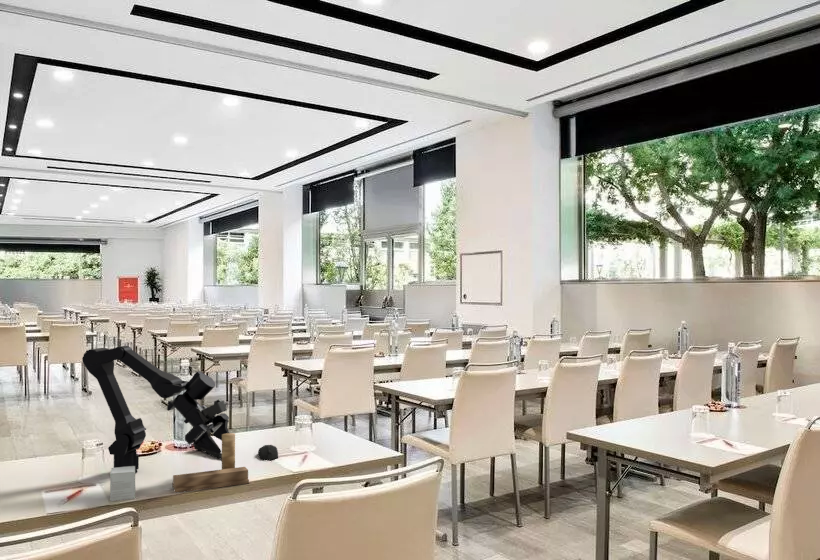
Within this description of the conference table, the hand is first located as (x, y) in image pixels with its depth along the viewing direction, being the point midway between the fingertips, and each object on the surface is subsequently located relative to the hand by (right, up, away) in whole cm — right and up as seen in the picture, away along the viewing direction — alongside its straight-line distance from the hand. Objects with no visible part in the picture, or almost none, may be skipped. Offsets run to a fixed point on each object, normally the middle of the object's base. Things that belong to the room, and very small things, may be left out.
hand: (226, 448), depth 195 cm
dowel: (0, -8, 0) cm, 8 cm away
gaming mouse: (+8, -9, +23) cm, 25 cm away
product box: (-23, -8, -19) cm, 31 cm away
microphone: (-13, -9, +25) cm, 30 cm away
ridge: (-2, -8, -8) cm, 12 cm away
